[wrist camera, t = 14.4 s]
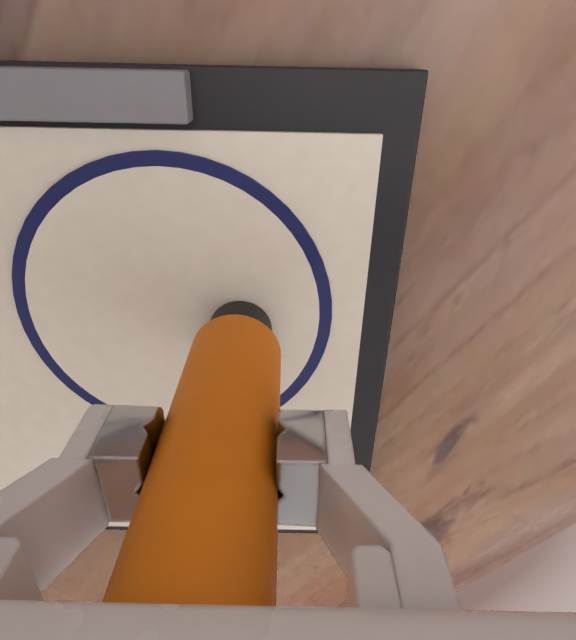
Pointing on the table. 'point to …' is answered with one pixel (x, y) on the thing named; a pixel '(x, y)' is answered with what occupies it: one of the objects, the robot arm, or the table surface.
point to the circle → (161, 273)
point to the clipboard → (246, 157)
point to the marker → (212, 476)
